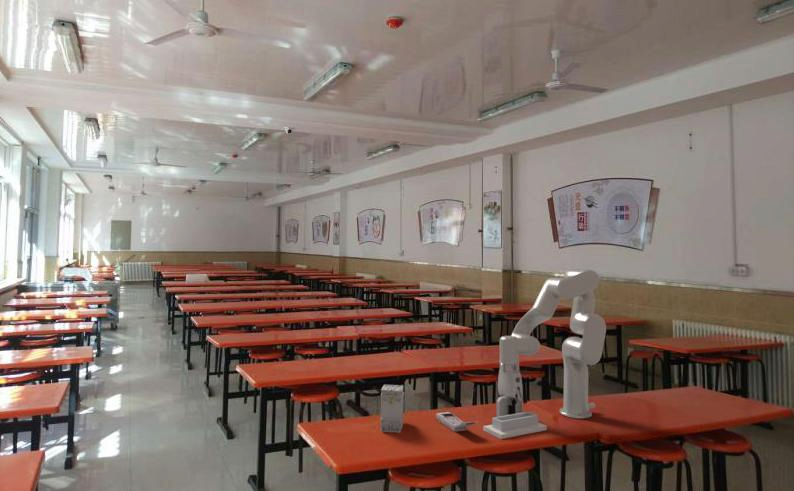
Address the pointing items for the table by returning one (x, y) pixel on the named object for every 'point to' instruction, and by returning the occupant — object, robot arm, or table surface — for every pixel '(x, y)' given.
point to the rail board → (514, 425)
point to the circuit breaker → (392, 408)
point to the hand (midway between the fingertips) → (509, 413)
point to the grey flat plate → (503, 406)
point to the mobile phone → (452, 421)
